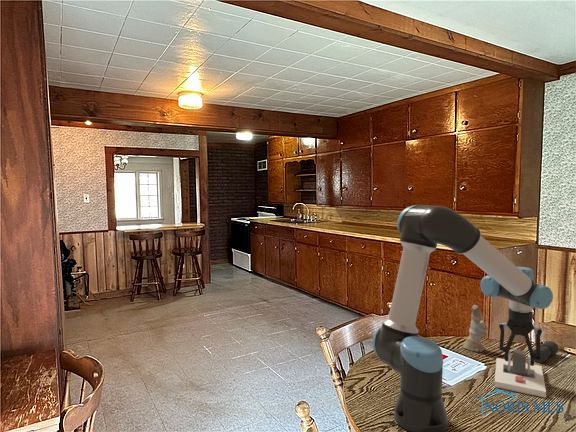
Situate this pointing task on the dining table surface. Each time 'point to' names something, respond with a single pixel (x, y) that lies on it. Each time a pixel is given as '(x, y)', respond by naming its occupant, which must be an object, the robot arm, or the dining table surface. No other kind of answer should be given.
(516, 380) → the socket plate
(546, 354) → the flashlight
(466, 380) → the dining table surface
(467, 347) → the figurine
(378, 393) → the dining table surface
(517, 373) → the plug
